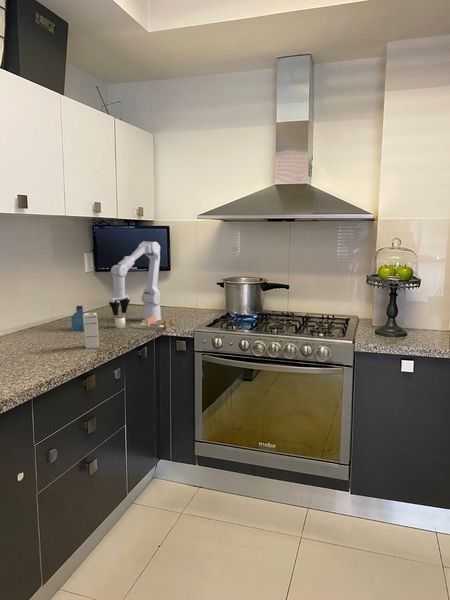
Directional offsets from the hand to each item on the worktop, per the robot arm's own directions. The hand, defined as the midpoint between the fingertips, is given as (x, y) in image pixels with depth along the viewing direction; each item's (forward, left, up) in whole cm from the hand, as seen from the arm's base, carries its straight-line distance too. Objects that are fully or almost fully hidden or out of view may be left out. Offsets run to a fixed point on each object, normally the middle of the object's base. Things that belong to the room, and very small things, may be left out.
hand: (119, 314), depth 237 cm
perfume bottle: (+12, -16, -7) cm, 21 cm away
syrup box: (+39, +11, -7) cm, 41 cm away
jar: (0, 0, -7) cm, 7 cm away
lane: (-7, +16, -7) cm, 19 cm away
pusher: (-7, +16, -7) cm, 19 cm away
